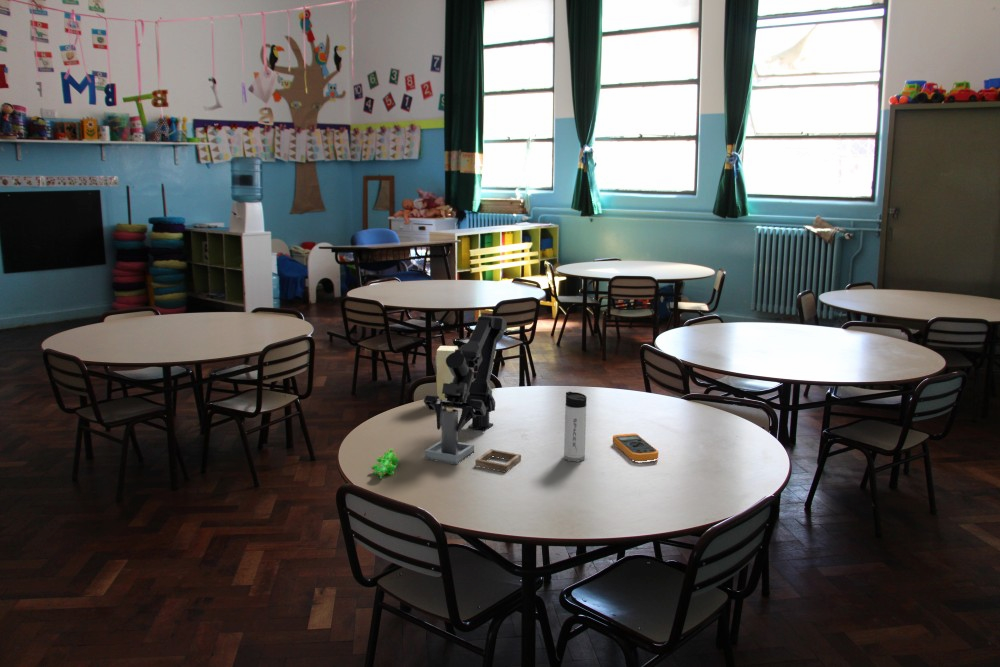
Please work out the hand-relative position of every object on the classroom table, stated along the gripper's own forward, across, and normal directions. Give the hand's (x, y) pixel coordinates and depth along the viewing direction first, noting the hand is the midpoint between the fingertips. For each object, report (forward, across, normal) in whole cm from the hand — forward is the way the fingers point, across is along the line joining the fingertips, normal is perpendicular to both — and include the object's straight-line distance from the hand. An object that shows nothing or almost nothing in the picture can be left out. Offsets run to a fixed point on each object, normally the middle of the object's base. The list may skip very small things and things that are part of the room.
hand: (447, 430), depth 235 cm
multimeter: (-10, +53, +23) cm, 58 cm away
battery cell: (+4, 0, +6) cm, 8 cm away
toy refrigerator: (-29, -20, +41) cm, 54 cm away
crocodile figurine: (+17, -13, -4) cm, 22 cm away
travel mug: (-3, +36, +15) cm, 39 cm away
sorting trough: (+5, 0, +7) cm, 9 cm away
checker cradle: (+6, +16, +6) cm, 18 cm away
